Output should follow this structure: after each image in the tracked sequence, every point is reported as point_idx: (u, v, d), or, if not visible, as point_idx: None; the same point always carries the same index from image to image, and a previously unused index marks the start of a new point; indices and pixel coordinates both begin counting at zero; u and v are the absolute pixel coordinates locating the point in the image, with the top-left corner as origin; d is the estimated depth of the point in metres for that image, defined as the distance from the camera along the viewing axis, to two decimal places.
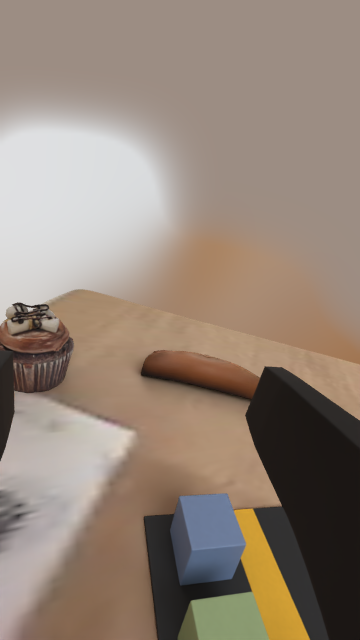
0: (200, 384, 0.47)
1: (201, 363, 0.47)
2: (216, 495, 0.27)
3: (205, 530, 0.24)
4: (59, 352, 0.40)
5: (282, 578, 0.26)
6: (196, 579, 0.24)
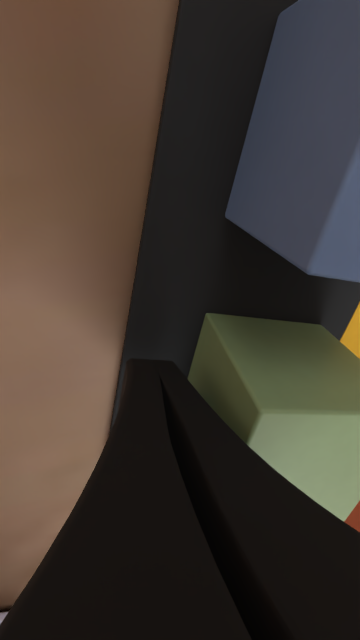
0: None
1: None
2: None
3: None
4: None
5: None
6: None
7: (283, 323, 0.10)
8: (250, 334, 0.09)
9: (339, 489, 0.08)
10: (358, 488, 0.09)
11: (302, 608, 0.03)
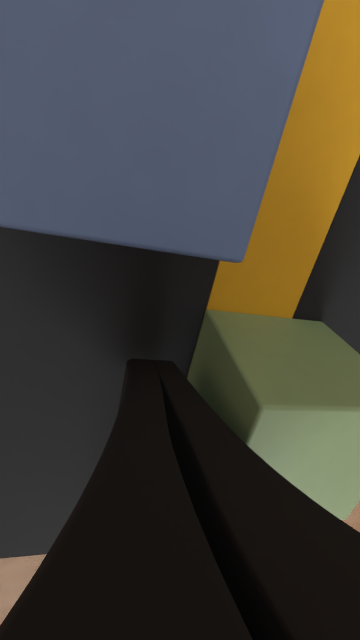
0: None
1: None
2: None
3: (34, 113, 0.03)
4: None
5: (318, 249, 0.10)
6: None
7: (284, 320, 0.10)
8: (251, 331, 0.09)
9: (340, 486, 0.08)
10: None
11: (301, 608, 0.03)
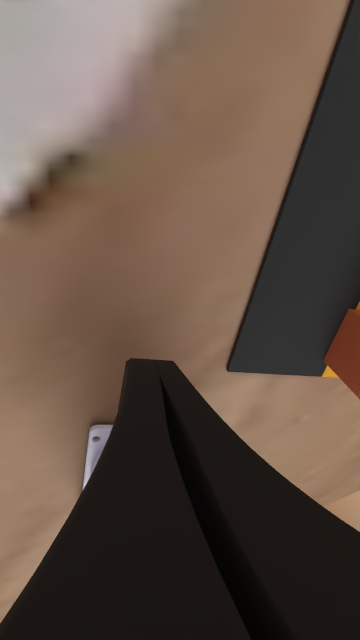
0: None
1: None
2: None
3: None
4: None
5: None
6: None
7: None
8: None
9: None
10: None
11: (302, 608, 0.03)
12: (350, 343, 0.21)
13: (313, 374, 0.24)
